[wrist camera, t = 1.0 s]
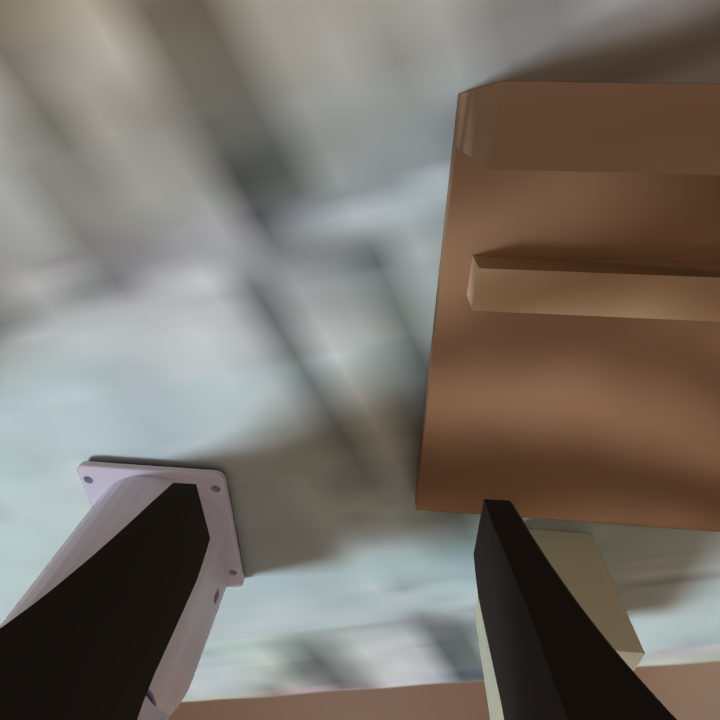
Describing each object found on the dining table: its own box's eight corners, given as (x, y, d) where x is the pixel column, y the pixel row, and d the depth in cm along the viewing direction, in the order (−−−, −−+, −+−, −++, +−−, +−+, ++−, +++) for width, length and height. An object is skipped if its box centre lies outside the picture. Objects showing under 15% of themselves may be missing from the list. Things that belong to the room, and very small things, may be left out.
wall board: (735, 517, 22) (861, 670, 16) (415, 494, 23) (420, 631, 17) (997, 101, 13) (1504, 94, 7) (458, 93, 14) (501, 81, 8)
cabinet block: (555, 619, 28) (594, 745, 22) (474, 612, 28) (492, 735, 22) (590, 533, 24) (648, 661, 18) (495, 526, 24) (524, 650, 18)
